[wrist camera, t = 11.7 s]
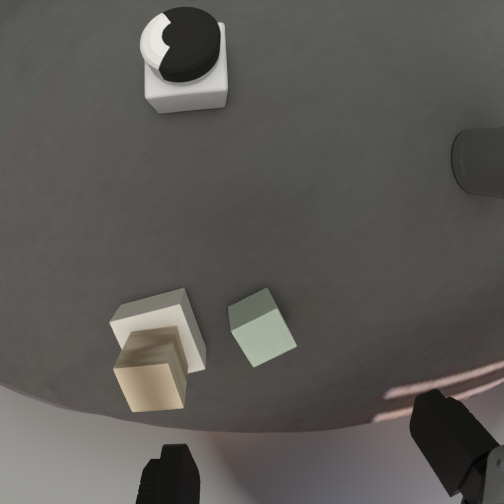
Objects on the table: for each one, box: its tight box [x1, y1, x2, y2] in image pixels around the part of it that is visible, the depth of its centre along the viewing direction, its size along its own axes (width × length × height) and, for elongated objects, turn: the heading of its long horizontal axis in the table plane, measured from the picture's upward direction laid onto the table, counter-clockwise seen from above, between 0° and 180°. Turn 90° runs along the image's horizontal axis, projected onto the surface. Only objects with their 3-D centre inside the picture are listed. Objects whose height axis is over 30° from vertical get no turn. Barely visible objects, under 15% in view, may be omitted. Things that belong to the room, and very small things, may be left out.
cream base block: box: [110, 288, 206, 373], centre depth 33 cm, size 8×8×5 cm
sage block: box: [228, 288, 297, 367], centre depth 33 cm, size 5×5×6 cm
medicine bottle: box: [140, 7, 228, 114], centre depth 24 cm, size 7×7×12 cm
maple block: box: [113, 325, 188, 412], centre depth 27 cm, size 5×5×7 cm
